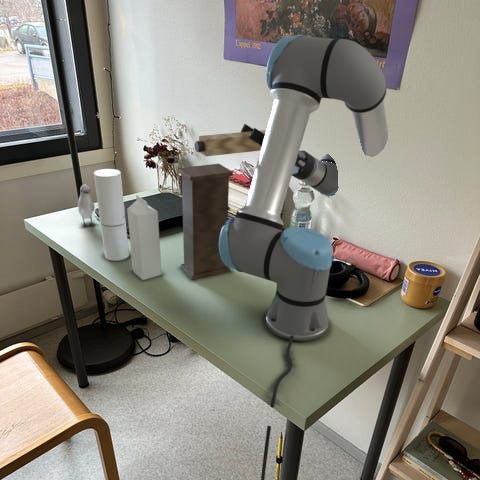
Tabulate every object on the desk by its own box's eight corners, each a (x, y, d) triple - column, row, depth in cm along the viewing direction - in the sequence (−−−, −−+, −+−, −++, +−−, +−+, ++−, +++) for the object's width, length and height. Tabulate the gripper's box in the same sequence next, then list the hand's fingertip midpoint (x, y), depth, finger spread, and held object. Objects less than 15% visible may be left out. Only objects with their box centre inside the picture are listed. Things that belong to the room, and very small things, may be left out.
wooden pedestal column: (217, 260, 143) (219, 163, 126) (229, 271, 137) (233, 171, 121) (180, 268, 138) (177, 168, 121) (192, 280, 132) (190, 177, 116)
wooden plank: (271, 144, 129) (272, 129, 127) (280, 148, 126) (281, 132, 124) (193, 152, 119) (192, 136, 117) (200, 157, 116) (200, 140, 114)
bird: (86, 234, 154) (79, 189, 146) (76, 219, 164) (69, 176, 155) (101, 231, 156) (95, 187, 148) (90, 217, 166) (84, 175, 158)
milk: (142, 280, 131) (135, 204, 118) (132, 271, 135) (125, 197, 122) (162, 274, 134) (157, 199, 121) (151, 266, 138) (146, 192, 125)
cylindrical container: (131, 251, 145) (124, 169, 131) (124, 261, 139) (115, 177, 125) (109, 249, 146) (99, 168, 132) (101, 259, 140) (89, 175, 126)
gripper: (317, 189, 131) (257, 153, 116) (282, 171, 143) (225, 137, 128) (331, 164, 129) (272, 124, 114) (295, 148, 141) (238, 110, 126)
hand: (247, 131), depth 121 cm, fingers closed on wooden plank, 4 cm apart
